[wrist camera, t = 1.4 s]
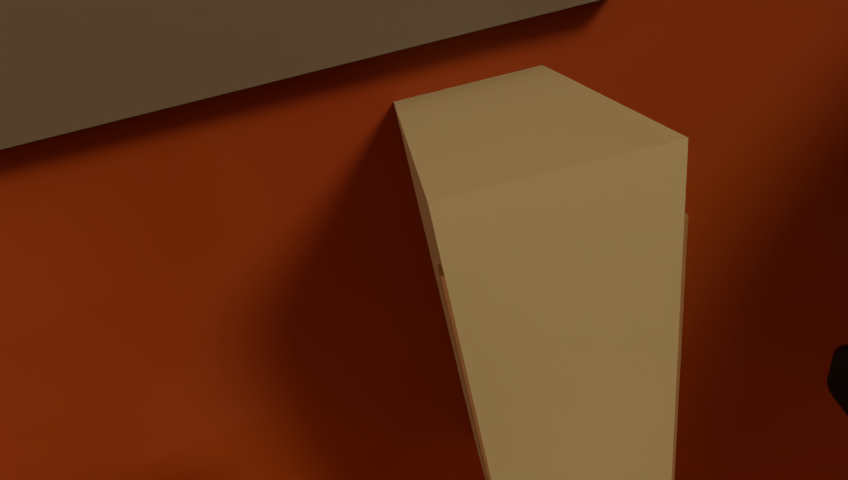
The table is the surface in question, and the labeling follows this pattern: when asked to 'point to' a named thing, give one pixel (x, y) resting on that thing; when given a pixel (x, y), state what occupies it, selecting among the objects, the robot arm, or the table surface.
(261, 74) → the mat
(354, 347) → the table surface
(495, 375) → the block
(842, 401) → the robot arm
